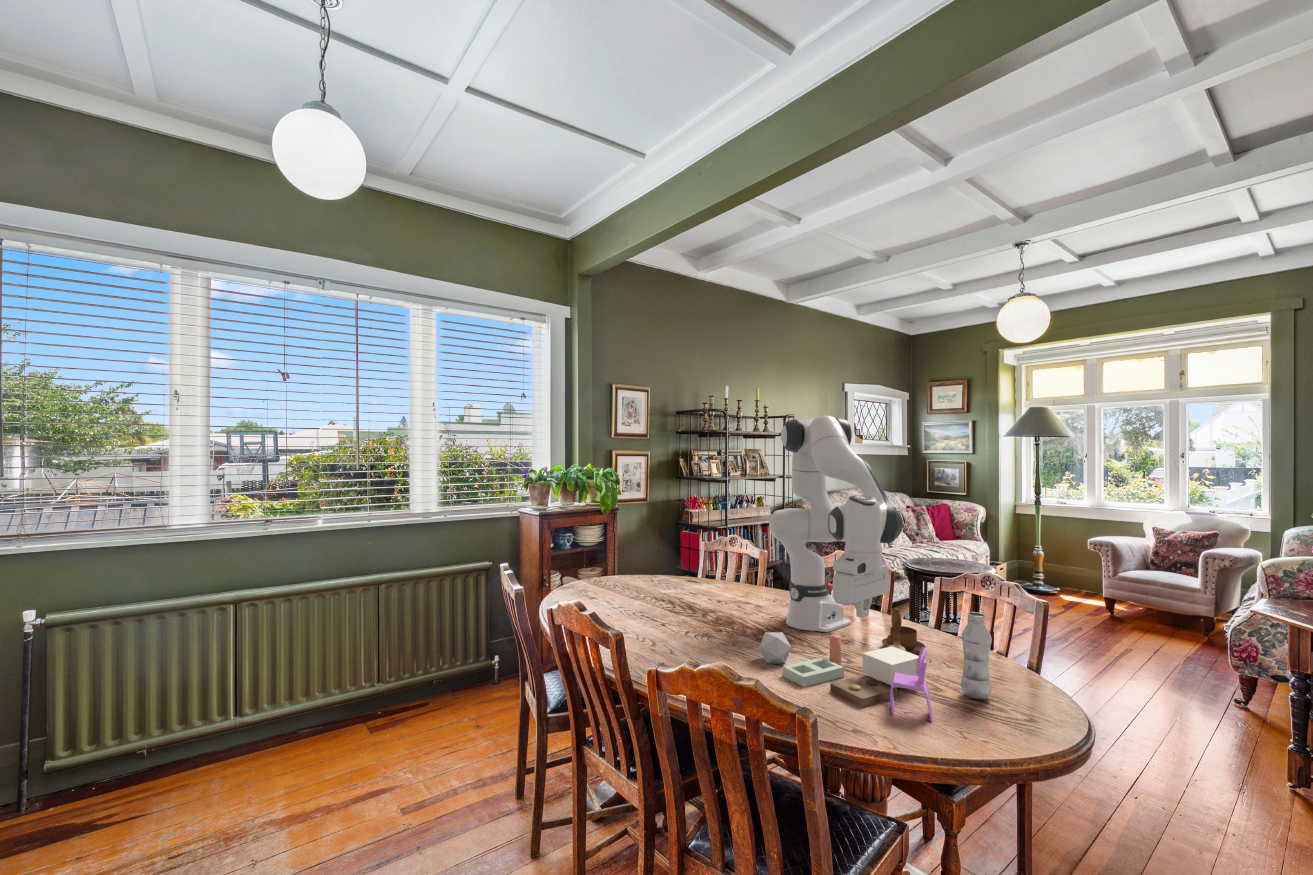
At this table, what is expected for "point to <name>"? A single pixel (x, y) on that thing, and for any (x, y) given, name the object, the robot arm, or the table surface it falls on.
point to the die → (774, 647)
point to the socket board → (813, 671)
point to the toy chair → (913, 682)
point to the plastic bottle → (976, 658)
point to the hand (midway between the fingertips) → (862, 616)
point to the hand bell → (896, 629)
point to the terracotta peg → (835, 649)
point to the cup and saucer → (905, 640)
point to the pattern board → (862, 690)
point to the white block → (889, 663)
